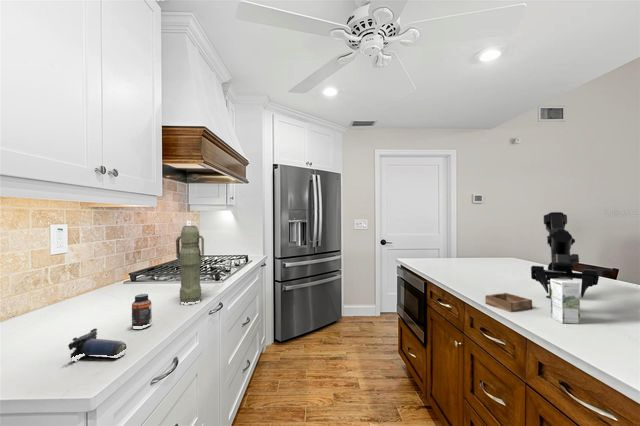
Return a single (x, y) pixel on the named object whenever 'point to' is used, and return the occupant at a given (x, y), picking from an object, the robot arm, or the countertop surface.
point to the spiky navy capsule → (95, 345)
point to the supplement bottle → (141, 310)
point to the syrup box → (565, 301)
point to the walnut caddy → (508, 302)
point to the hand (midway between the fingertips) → (564, 294)
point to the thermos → (190, 263)
